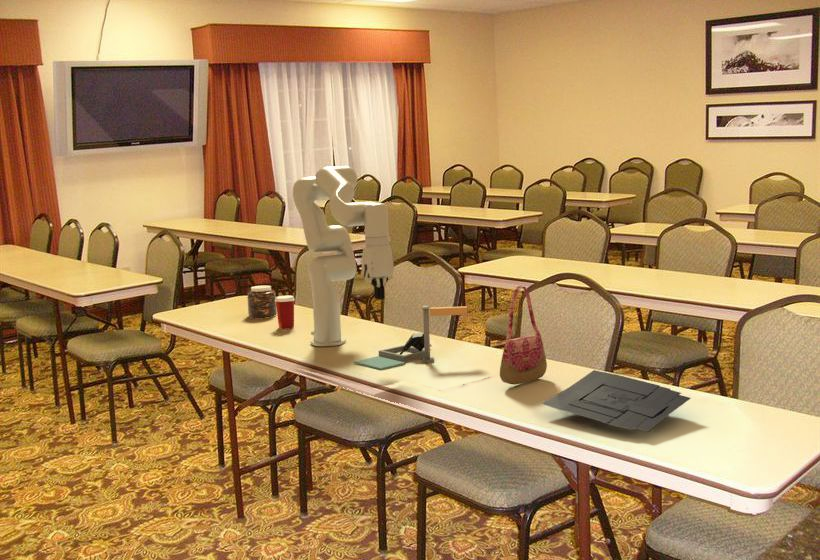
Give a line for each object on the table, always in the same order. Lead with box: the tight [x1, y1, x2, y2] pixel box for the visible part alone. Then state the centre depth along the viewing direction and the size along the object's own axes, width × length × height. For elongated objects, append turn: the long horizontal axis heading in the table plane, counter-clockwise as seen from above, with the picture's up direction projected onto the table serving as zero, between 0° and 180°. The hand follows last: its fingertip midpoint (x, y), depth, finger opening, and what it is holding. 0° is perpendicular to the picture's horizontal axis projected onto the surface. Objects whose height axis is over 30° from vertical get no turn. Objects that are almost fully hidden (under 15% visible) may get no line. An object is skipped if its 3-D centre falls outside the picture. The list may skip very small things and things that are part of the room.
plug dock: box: [378, 308, 435, 364], centre depth 286 cm, size 20×11×18 cm, turn 41°
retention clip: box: [421, 305, 469, 322], centre depth 279 cm, size 15×3×5 cm, turn 90°
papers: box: [541, 369, 692, 432], centre depth 221 cm, size 24×30×4 cm
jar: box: [247, 285, 277, 319], centre depth 363 cm, size 12×12×15 cm
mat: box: [353, 355, 406, 371], centre depth 281 cm, size 14×10×1 cm
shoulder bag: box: [499, 285, 548, 385], centre depth 250 cm, size 17×3×28 cm, turn 128°
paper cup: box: [275, 295, 295, 330], centre depth 340 cm, size 8×8×14 cm
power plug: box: [399, 332, 433, 355], centre depth 288 cm, size 6×8×12 cm
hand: (379, 298), depth 279 cm, fingers closed
